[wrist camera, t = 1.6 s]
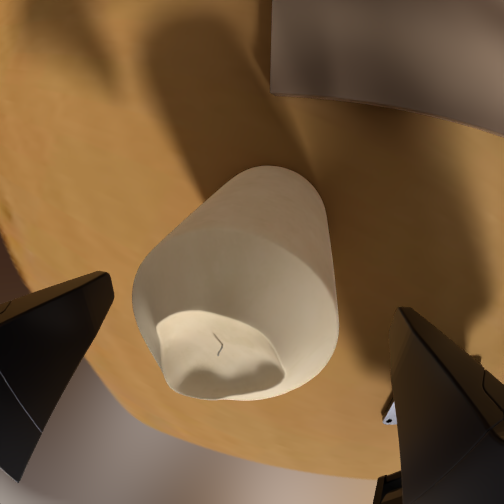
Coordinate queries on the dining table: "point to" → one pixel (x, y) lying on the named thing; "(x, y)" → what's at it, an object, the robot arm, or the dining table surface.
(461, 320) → the dining table surface
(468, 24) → the grey square slab
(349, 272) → the dining table surface
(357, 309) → the dining table surface
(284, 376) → the candle
